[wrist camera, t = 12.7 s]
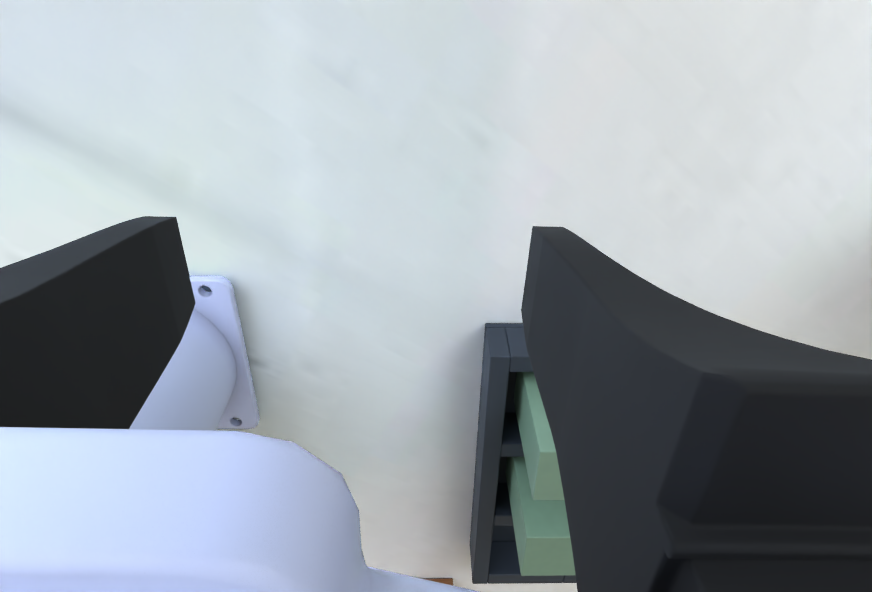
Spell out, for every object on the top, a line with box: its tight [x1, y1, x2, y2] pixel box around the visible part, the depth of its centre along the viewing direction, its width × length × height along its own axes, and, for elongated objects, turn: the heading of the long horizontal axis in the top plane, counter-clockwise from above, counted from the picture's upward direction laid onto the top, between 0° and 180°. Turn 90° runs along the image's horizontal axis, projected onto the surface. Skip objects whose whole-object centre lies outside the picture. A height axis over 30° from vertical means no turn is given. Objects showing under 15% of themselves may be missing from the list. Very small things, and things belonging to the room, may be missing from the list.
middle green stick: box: [506, 457, 575, 576], centre depth 26 cm, size 3×3×6 cm
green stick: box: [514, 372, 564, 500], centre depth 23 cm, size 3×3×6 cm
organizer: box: [470, 323, 577, 584], centre depth 27 cm, size 6×15×2 cm, turn 179°
